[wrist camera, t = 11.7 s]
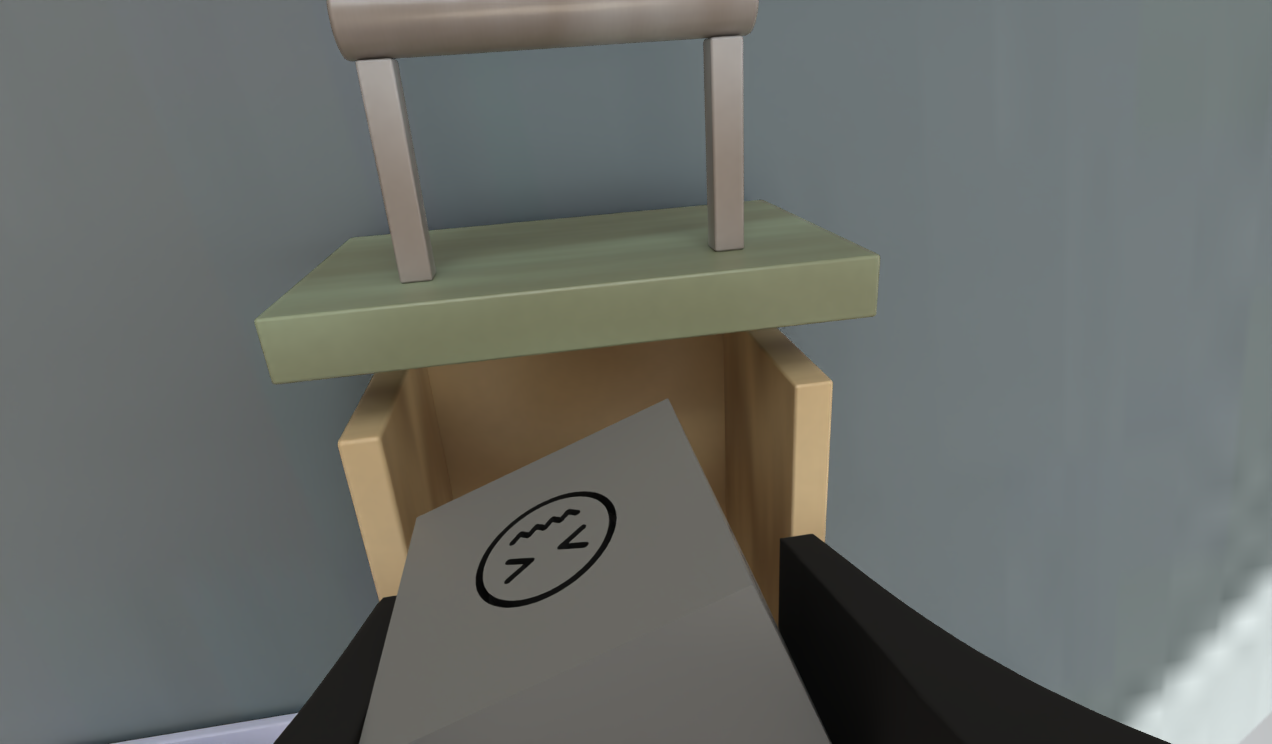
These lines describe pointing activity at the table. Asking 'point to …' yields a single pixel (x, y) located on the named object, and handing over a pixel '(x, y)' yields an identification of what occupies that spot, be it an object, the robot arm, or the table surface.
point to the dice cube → (587, 610)
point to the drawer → (570, 302)
